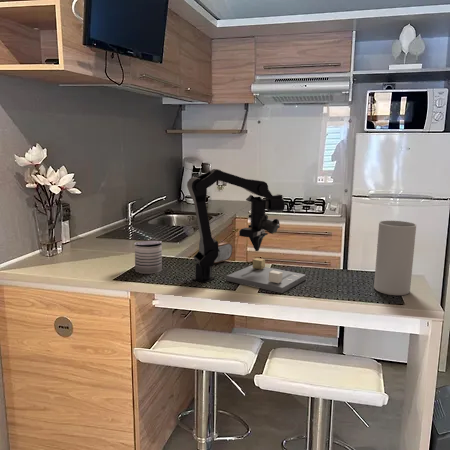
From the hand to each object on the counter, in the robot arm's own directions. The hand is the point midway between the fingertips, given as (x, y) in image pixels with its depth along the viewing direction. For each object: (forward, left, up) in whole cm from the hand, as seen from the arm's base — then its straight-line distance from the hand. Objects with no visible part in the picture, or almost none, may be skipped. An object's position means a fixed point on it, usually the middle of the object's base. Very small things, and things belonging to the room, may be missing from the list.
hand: (257, 251), depth 185 cm
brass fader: (+2, 0, -7) cm, 8 cm away
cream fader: (-10, -14, -7) cm, 19 cm away
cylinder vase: (+13, -50, -10) cm, 53 cm away
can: (-21, +39, -10) cm, 45 cm away
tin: (+8, +23, -10) cm, 26 cm away
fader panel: (-4, -7, -10) cm, 13 cm away
